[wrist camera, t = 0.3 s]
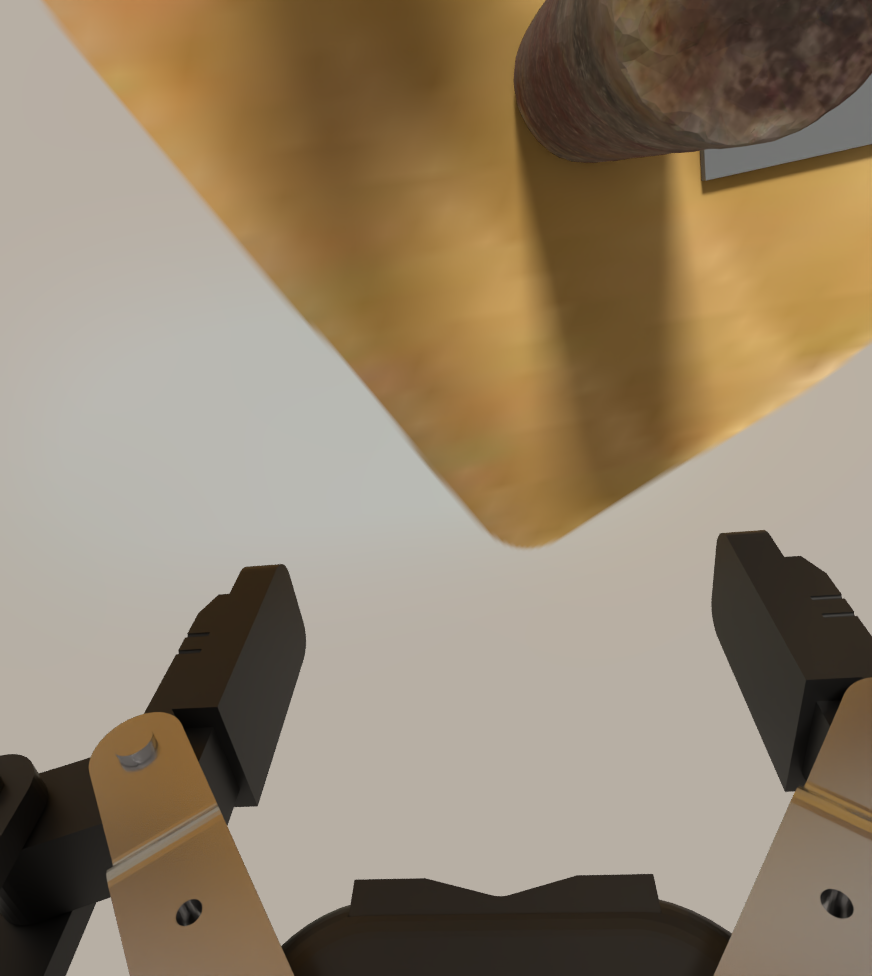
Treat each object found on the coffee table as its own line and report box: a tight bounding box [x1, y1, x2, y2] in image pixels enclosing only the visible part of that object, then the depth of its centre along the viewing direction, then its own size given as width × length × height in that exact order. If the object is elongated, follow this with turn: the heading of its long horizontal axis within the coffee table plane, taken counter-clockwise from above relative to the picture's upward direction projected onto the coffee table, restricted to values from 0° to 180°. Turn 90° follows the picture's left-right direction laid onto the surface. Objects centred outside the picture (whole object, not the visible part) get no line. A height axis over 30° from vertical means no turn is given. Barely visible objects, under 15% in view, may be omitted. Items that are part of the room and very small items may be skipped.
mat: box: [700, 74, 872, 181], centre depth 32 cm, size 11×14×1 cm
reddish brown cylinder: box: [514, 0, 872, 163], centre depth 24 cm, size 8×7×20 cm
